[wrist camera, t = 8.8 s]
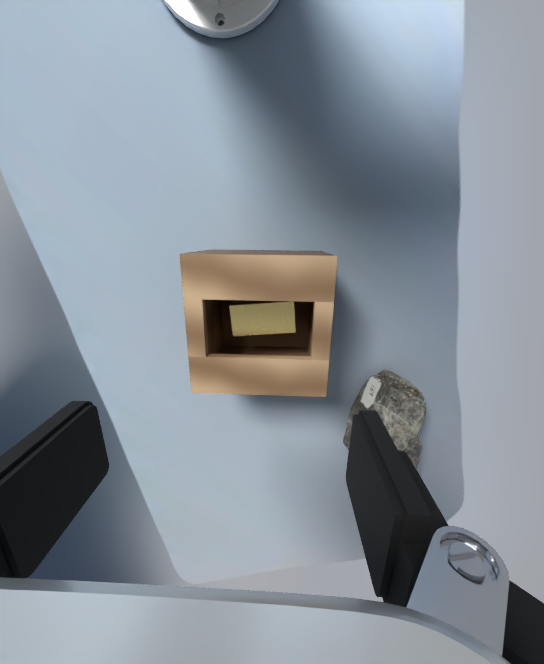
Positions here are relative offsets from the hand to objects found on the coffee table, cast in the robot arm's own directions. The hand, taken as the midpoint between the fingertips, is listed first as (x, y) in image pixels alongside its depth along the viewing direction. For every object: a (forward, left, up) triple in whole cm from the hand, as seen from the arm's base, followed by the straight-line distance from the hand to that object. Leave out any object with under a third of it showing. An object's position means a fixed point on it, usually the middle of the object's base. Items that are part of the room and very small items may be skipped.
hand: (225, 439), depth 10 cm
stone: (+14, +14, -24) cm, 32 cm away
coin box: (0, 0, -24) cm, 24 cm away
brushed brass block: (0, 0, -23) cm, 23 cm away
